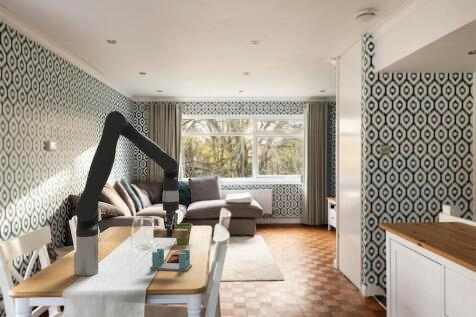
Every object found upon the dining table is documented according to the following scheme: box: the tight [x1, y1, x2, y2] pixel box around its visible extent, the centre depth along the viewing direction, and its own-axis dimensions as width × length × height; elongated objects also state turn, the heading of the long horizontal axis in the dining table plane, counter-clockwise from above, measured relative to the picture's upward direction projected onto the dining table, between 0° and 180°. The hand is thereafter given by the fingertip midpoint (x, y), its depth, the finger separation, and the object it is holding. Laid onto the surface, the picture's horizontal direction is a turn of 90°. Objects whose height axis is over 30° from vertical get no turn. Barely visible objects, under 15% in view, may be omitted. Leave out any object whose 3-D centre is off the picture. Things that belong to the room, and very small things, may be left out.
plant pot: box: [175, 222, 193, 246], centre depth 220 cm, size 12×12×11 cm
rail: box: [152, 228, 189, 239], centre depth 171 cm, size 16×4×4 cm, turn 84°
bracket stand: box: [149, 248, 193, 272], centre depth 171 cm, size 18×8×8 cm, turn 81°
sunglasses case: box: [165, 247, 187, 264], centre depth 186 cm, size 18×7×7 cm
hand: (171, 236), depth 171 cm, fingers closed on rail, 3 cm apart
